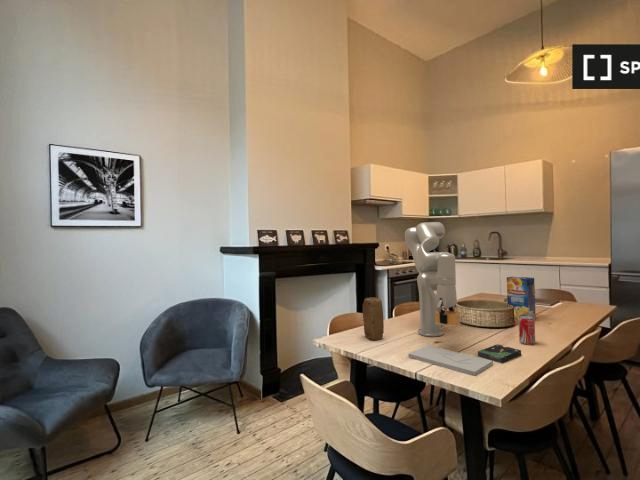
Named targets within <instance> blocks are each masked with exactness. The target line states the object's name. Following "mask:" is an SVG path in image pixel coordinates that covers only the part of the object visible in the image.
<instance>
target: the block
mask: <svg viewBox="0 0 640 480" xmlns="http://www.w3.org/2000/svg"><path fill="white" fill-rule="evenodd" d="M382 302H383V301H382V299H381V298H379V297H374V296H373V297H370V296H369V297H366V298H364V300H363V303H362V319H363V320H362V321H363V331H364V335H365V337H366V338H367V339H369V340H372V341H378V340H381V339H382V338H383V337H384V330H385V327H384V326H385V324H384V323H385V322H384V311H383V310H384V308H383V303H382Z"/></svg>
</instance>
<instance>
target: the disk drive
mask: <svg viewBox="0 0 640 480" xmlns="http://www.w3.org/2000/svg"><path fill="white" fill-rule="evenodd" d="M520 356H522V350H521V349H518V348H514V347H510V346H503V345H502V344H494V345H492V346H489V347H485V348H484V349H483V348H482V349H480V350H477V357H479V358H483V359H487V360H491V361H493V362H496V363H499V364H504V363H506V362H508V361H511V360H514V359H516V358H518V357H520Z"/></svg>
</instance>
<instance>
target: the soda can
mask: <svg viewBox="0 0 640 480" xmlns="http://www.w3.org/2000/svg"><path fill="white" fill-rule="evenodd" d="M535 321H536V320H534V319H533V317H531V316H520V317H519V320H518V338H519V339H518V340H519V342H520V344H523V345H526V346H532V345H535V344H536V324H535V323H536V322H535Z"/></svg>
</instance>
